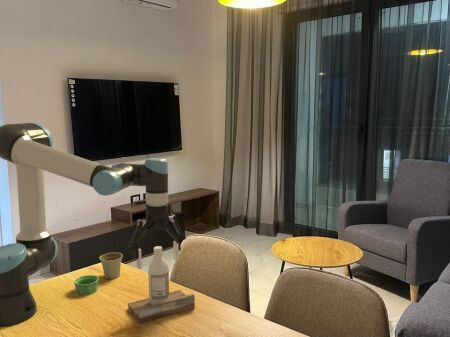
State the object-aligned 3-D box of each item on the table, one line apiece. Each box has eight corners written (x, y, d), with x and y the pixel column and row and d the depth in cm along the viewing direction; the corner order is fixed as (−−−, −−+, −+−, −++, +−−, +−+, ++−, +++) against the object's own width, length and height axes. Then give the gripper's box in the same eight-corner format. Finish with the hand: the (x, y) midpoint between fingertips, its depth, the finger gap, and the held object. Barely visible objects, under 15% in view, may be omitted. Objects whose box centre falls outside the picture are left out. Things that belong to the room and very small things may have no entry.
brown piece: (128, 308, 139) (127, 295, 138) (180, 294, 149) (179, 282, 148) (140, 324, 128) (139, 310, 128) (195, 308, 139) (194, 295, 138)
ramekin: (70, 290, 153) (69, 280, 153) (91, 283, 160) (91, 273, 159) (81, 298, 147) (81, 287, 147) (103, 290, 154) (103, 279, 153)
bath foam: (172, 303, 138) (171, 248, 135) (154, 308, 135) (152, 252, 132) (164, 295, 144) (162, 242, 141) (146, 300, 140) (144, 246, 137)
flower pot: (111, 282, 160) (110, 262, 159) (95, 277, 165) (94, 258, 164) (128, 274, 168) (127, 255, 167) (112, 270, 173) (111, 251, 172)
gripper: (185, 197, 144) (185, 253, 147) (117, 205, 131) (119, 266, 134) (195, 201, 138) (195, 260, 141) (124, 210, 125) (126, 274, 128)
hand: (158, 263), depth 137 cm, fingers open, 13 cm apart
